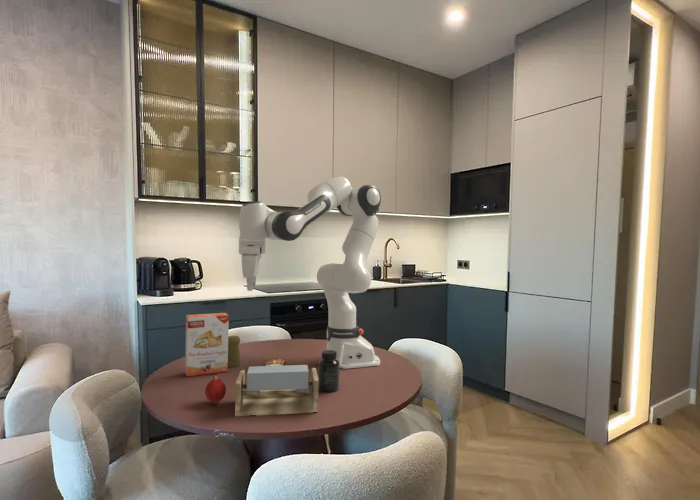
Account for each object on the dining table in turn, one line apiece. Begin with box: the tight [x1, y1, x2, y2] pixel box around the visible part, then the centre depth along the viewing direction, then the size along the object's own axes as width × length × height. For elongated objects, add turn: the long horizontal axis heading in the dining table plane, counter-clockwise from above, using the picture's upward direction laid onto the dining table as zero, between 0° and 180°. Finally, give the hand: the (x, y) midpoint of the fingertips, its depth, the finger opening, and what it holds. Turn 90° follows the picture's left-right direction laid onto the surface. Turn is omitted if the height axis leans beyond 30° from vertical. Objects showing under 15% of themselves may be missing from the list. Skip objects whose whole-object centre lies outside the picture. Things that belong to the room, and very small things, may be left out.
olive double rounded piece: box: [228, 335, 242, 368], centre depth 150 cm, size 6×6×11 cm
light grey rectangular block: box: [246, 364, 310, 391], centre depth 113 cm, size 17×6×5 cm, turn 99°
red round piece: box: [204, 376, 227, 405], centre depth 114 cm, size 6×6×8 cm
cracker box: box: [184, 312, 230, 377], centre depth 141 cm, size 14×6×21 cm, turn 118°
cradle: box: [234, 367, 319, 417], centre depth 113 cm, size 22×11×9 cm, turn 99°
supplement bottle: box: [317, 350, 341, 393], centre depth 128 cm, size 7×7×12 cm
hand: (251, 288), depth 135 cm, fingers open, 8 cm apart
